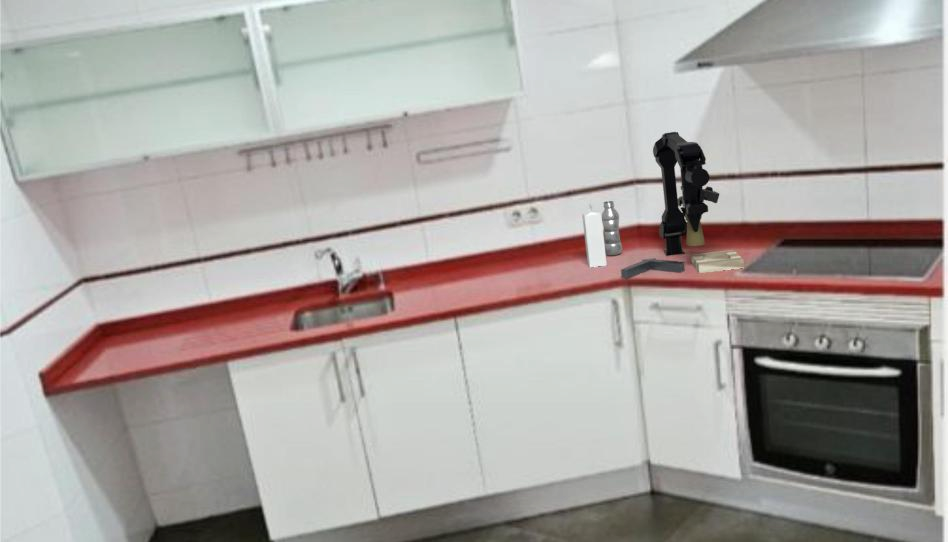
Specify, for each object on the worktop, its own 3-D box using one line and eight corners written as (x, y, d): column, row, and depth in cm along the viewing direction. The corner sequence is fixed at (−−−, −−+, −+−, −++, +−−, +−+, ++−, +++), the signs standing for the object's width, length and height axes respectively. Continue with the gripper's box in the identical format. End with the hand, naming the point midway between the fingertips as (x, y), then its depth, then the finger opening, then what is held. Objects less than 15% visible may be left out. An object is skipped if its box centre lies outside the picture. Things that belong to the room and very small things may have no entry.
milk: (590, 268, 287) (582, 207, 282) (587, 264, 293) (580, 204, 288) (607, 265, 287) (600, 204, 282) (604, 262, 293) (597, 202, 288)
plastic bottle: (609, 252, 306) (604, 200, 302) (625, 252, 302) (620, 200, 298) (601, 256, 301) (596, 204, 297) (618, 257, 297) (612, 203, 293)
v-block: (619, 270, 278) (618, 262, 277) (679, 263, 275) (679, 255, 275) (622, 279, 267) (621, 270, 266) (685, 272, 264) (684, 263, 264)
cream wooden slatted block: (691, 263, 274) (691, 254, 273) (734, 258, 272) (733, 249, 272) (699, 273, 260) (698, 264, 260) (744, 268, 259) (743, 259, 258)
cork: (703, 240, 268) (700, 208, 265) (706, 244, 262) (704, 211, 259) (684, 242, 268) (681, 210, 266) (687, 246, 262) (685, 213, 260)
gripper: (723, 183, 251) (726, 232, 254) (709, 175, 269) (712, 221, 272) (686, 188, 252) (690, 237, 255) (675, 180, 270) (679, 226, 273)
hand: (694, 230), depth 264 cm, fingers closed on cork, 4 cm apart
